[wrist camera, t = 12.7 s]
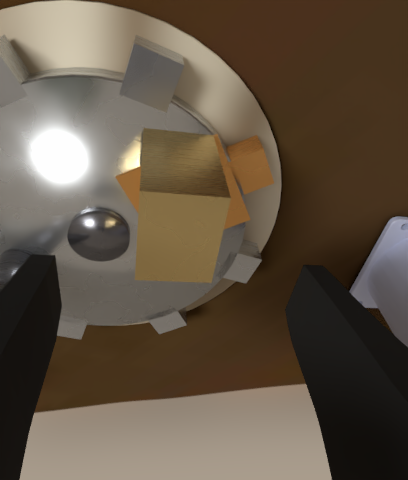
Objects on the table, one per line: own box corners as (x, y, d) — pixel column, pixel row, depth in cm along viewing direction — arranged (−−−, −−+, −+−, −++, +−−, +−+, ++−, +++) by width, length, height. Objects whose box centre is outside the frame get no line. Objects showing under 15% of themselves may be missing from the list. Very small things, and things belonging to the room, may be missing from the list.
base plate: (332, 38, 17) (335, 40, 16) (239, 323, 29) (240, 328, 28) (-186, -44, 13) (-194, -43, 13) (-45, 318, 25) (-47, 323, 25)
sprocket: (194, -62, 13) (212, -58, 9) (299, 268, 25) (329, 339, 20) (-192, 133, 16) (-313, 204, 12) (58, 350, 27) (40, 426, 23)
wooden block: (143, 127, 16) (139, 191, 12) (213, 135, 16) (231, 198, 13) (139, 206, 18) (134, 279, 15) (200, 211, 19) (211, 282, 15)
